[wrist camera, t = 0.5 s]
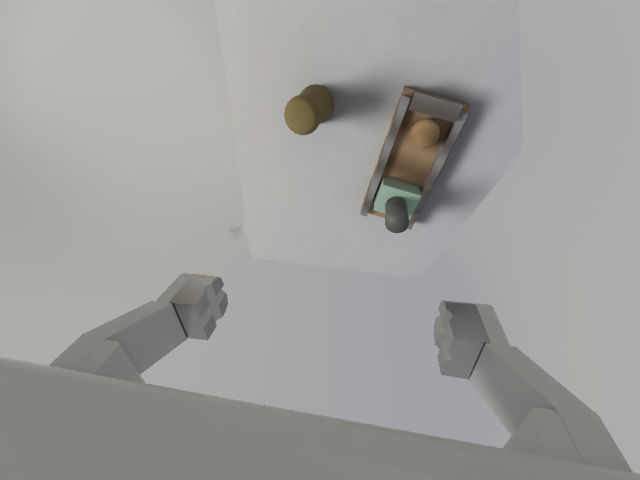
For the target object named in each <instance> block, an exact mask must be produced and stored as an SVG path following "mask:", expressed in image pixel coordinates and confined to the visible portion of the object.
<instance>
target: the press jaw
mask: <svg viewBox="0 0 640 480" xmlns="http://www.w3.org/2000/svg"><path fill="white" fill-rule="evenodd" d="M421 196H422V195H421V191H420V187H419V186H416V185H413V184H409V183H406V182H402V181H399V180H395V179H392V178H388V177H385V176H383V179H382V181H381V184H380V187H379V189H378V192H377V195H376V197H375V200H374V210H375V211H378V212H382V213H385V225H386V228H387V229H388V230H389V231H391V232H393V233H401V232H403V231H405V230H406V229H407V228H408V226H409V221H410V219H411V217H412V215H413V213H414V211H415V209H416V207H417V204H418V202H419V200H420V198H421Z"/></svg>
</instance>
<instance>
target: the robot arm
mask: <svg viewBox="0 0 640 480" xmlns="http://www.w3.org/2000/svg"><path fill="white" fill-rule="evenodd" d="M223 285H224V284H223V281H222V279H221V278H219V277H214V276H207V275H198V274H189V273H183V274H181V275H180V276H179V277H178V278H177V279H176V280H175V281H174V282H173V283H172V284H171V285H170V286H169V287H168V289H167V290H166V291H165V292H164V293H163V294H162V295H161V296H160V297H159V298H158V299H157V300H156V301H151V302H149V303H147V304H144V305H142V306H140V307H138V308H136V309H134V310H132V311H130V312H128V313H126V314H124V315H122V316H120V317H118V318H116V319H114V320H112V321H109V322H107V323H105V324H103V325H101V326H99V327H97V328H95V329H93V330H91V331H89V332H87V333H85V334H83V335H81V336H80V337H79V338H78V339H77V340H76V341H75V342H74V343H73V344H72V345H71V346H69V347H68V348H67V349H66V350H65V351H64V352H63V353H62V354H61V355H60V356H59V357H58V358H56V359H55V360H54V361H53V362H52V363H51V364H50V365H49V366H47V365H41V364H36V363H31V362H25V361H20V360H14V359H9V358H3V357H0V480H640V474H638V473H633V472H632V470H631V468H630V467H629V465H628V463H627V462H626V460H625V458H624V457H623V455H622V453H621V452H620V450H619V448H618V447H617V445H616V443H615V442H614V440H613V438H612V437H611V435H610V433H609V432H608V430H607V428H606V427H605V425H604V424H603V422H602V420H601V418H600V417H599V416H598V415H597V414H596V413H595V412H594V411H592V410H591V409H590V408H588V407H587V406H586V405H585V404H584V403H583V402H582V401H580V400H579V399H578V398H577V397H576V396H574V395H573V394H572V393H571V392H569V391H568V390H567V389H566V388H565V387H563V386H562V385H561V384H560V383H559V382H557V381H556V380H555V379H554V378H553V377H551V376H550V375H549V374H548V373H547V372H545V371H544V370H543V369H542V368H541V367H539V366H538V365H537V364H536V363H535V362H533V361H532V360H531V359H530V358H529V357H527V356H526V355H525V354H524V353H522V352H521V351H520V350H519V349H518V348H516V347H513V346H510V344H509V342H508V340H507V337H506V335H505V333H504V331H503V329H502V326H501V324H500V322H499V320H498V318H497V315H496V313H495V311H494V309H493V307H492V306H491V305H485V304H472V303H462V302H452V301H442V302H441V303H440V306H439V312H440V316H438V317H437V318H436V321H435V326H434V338H435V345H436V346H437V347H438V348H439V349H440V350H439V354H438V361H439V366H440V371H441V375H447V376H453V377H458V378H465V379H469V382H470V383H471V384H472V385H473V387H474V388H475V389H476V390H477V392H478V393H479V394H480V396H481V397H482V398H483V399H484V401H485V402H486V403H487V405H488V406H489V407H490V409H491V410H492V411H493V412H494V414H495V415H496V416H497V417H498V419H499V420H500V421H501V423H502V424H503V425H504V426H505V428H506V429H507V430H508V432H509V433H510V434H511V435H512V436H511V438H510V439H509V440H508V442H507V443H506V444H505V446H504V447H503V449H501V448H496V447H491V446H484V445H479V444H474V443H468V442H463V441H458V440H452V439H447V438H441V437H436V436H430V435H425V434H419V433H414V432H408V431H403V430H397V429H392V428H386V427H380V426H375V425H370V424H364V423H359V422H354V421H348V420H343V419H337V418H331V417H326V416H321V415H315V414H310V413H304V412H298V411H293V410H288V409H282V408H277V407H271V406H266V405H260V404H255V403H249V402H243V401H238V400H233V399H227V398H221V397H216V396H211V395H205V394H200V393H194V392H189V391H183V390H177V389H172V388H167V387H161V386H156V385H150V384H146V383H145V382H144V380H143V379H142V377H141V375H140V374H141V373H142V372H144V371H145V370H146V369H148V368H149V367H150V366H152V365H153V364H154V363H156V362H157V361H158V360H160V359H161V358H162V357H164V356H165V355H166V354H168V353H169V352H170V351H172V350H173V349H174V348H176V347H177V346H178V345H180V344H181V343H182V342H184V341H185V340H186V339H187V338H194V339H202V340H208V339H209V338H210V336H211V334H212V333H213V331H214V329H215V328H216V321H217V320H218V319H220V318H221V317H222V316H223V315H224V313H225V311H226V308H227V304H228V302H227V301H228V300H227V294H226V293H225V292H224V291H223V290H222V287H223Z"/></svg>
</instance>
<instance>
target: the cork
mask: <svg viewBox="0 0 640 480" xmlns="http://www.w3.org/2000/svg"><path fill="white" fill-rule="evenodd" d="M332 110H333V99H332V96H331V94H330V93H329V91H328V90H327V89H326V88H324V87H323V86H320V85H310V86H308V87H306V88H305V89H304V90H303V91H302V92H301V94H300V95H298V96H296V97H293V98H292V99H291V100H290V101H289V102H288V103H287V105H286V107H285V113H284V116H285V121H286V124H287V126H288V127H289V128H290V130H291V131H293V132H294V133H296V134H299V135H307V134H310V133H312V132H313V131H315V130H316V129H317V127H318V125H319V124H320V123H322V122H325V121H326V120H327V119H328V118H329V117H330V115H331V114H332Z"/></svg>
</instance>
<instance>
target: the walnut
mask: <svg viewBox="0 0 640 480" xmlns="http://www.w3.org/2000/svg"><path fill="white" fill-rule="evenodd" d="M439 133H440V131H439V127H438V125H437V123H436V122H435V121H433V120H431V119H421V120H419V121H417V122H416V123H414V125H413V126H412V127H411V129H410V132H409V139H410V142H411V143H412V145H413V146H414V147H416V148H418V149H427V148H429V147H431V146H433V145H434V144H435V143H436V141H437V140H438V138H439Z"/></svg>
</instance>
